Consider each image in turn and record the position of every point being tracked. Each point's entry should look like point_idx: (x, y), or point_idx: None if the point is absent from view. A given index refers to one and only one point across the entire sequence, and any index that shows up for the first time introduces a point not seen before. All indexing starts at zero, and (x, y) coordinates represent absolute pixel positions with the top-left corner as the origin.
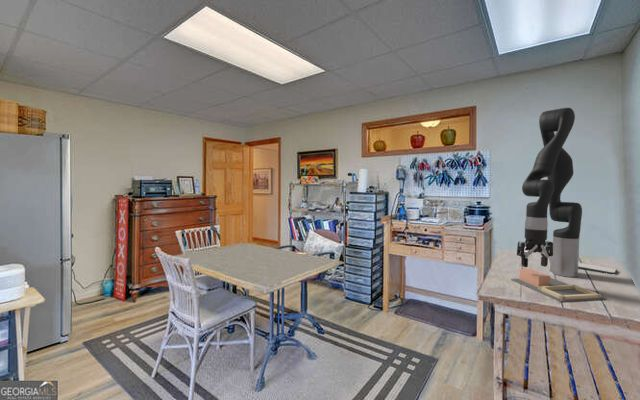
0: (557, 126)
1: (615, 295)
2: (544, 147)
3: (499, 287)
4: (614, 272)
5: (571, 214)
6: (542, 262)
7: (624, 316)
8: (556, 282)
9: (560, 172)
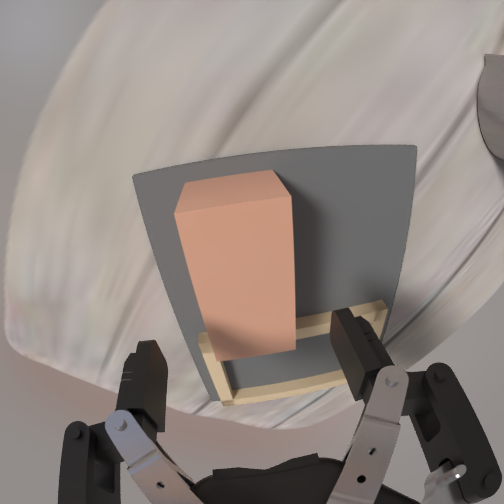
0: None
1: (428, 333)
2: None
3: (46, 297)
4: None
5: None
6: (342, 341)
7: (299, 426)
8: (376, 237)
9: None
